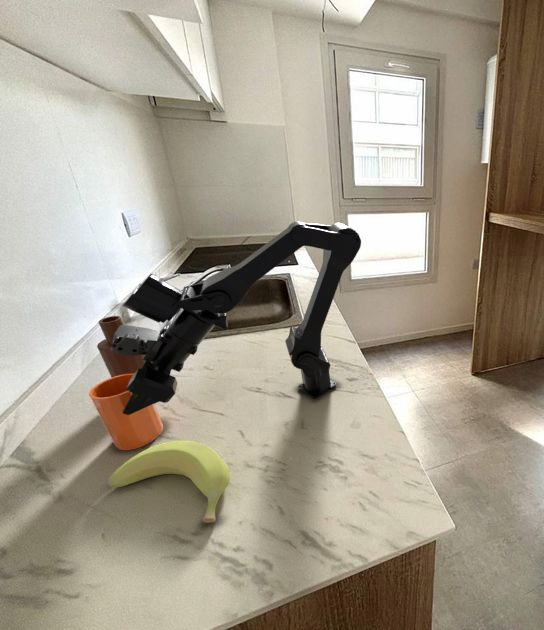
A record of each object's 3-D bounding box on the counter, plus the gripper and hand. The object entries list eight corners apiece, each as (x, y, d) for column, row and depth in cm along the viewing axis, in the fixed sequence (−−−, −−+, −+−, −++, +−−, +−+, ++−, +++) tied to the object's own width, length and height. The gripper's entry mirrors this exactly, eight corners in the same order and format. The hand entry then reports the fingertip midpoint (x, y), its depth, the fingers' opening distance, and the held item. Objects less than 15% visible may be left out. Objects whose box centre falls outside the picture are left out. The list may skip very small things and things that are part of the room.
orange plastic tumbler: (169, 432, 65) (149, 383, 60) (122, 456, 60) (96, 405, 55) (154, 416, 69) (134, 368, 64) (109, 438, 64) (83, 388, 58)
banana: (183, 412, 60) (239, 483, 50) (198, 428, 64) (253, 497, 54) (95, 473, 52) (140, 571, 42) (118, 487, 56) (164, 580, 46)
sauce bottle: (165, 391, 76) (136, 318, 68) (128, 408, 71) (92, 330, 63) (153, 381, 80) (124, 309, 72) (118, 395, 75) (82, 320, 67)
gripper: (147, 292, 64) (95, 354, 64) (122, 335, 49) (55, 415, 49) (205, 321, 70) (158, 377, 70) (199, 366, 56) (139, 437, 56)
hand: (131, 398), depth 61 cm, fingers open, 9 cm apart
